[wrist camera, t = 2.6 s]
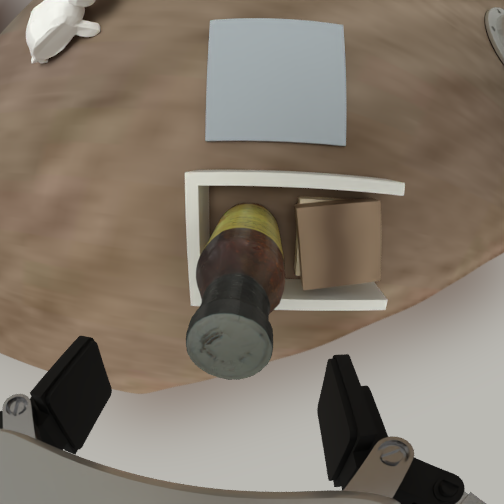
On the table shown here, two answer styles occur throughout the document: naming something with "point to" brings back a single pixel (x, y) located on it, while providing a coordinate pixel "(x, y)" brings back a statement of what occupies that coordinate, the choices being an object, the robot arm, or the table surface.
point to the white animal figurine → (57, 27)
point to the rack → (200, 180)
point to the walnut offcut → (339, 242)
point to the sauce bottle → (237, 294)
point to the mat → (276, 81)
